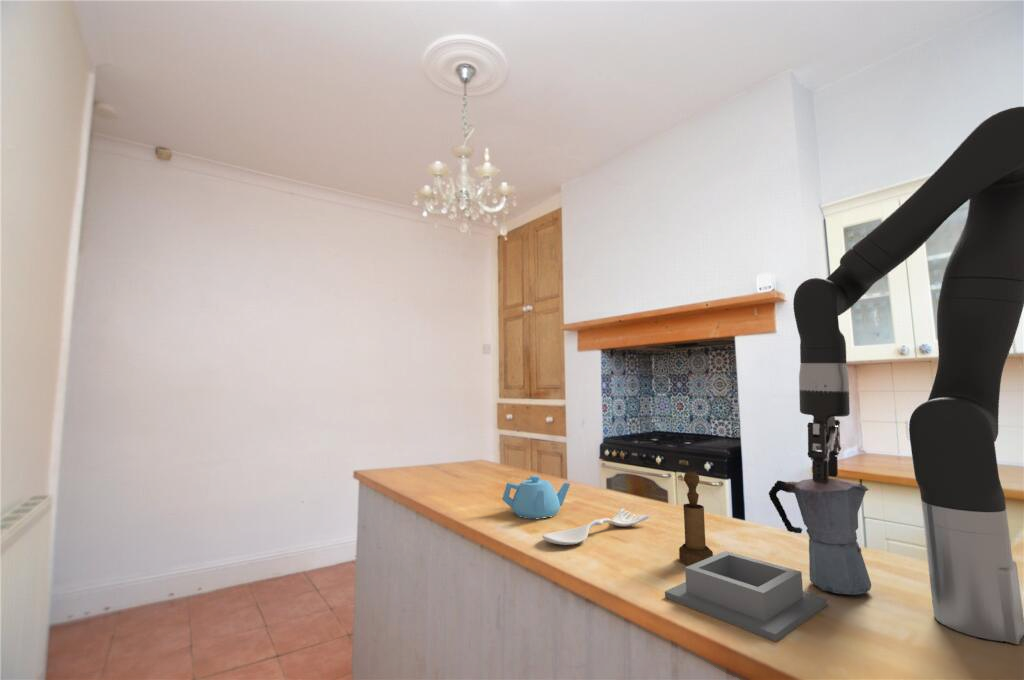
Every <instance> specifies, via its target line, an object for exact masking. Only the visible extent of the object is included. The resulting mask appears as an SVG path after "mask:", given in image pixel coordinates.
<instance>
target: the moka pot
mask: <svg viewBox="0 0 1024 680" xmlns="http://www.w3.org/2000/svg"><path fill="white" fill-rule="evenodd" d="M780 491H783V492H785V493H789V494H791V493H792V494H794V495H795V498H796V502H797V506H798V508H799V511H800V515H801V518H802V522H803V524H804V526H805V527H806V529H805V531H806V534H807V535H808V537H809V538H808V554H809V555H808V556H809V557H808V558H809V562H808V563H809V564H808V565H809V567H808V568H809V581H810V583H811V584H812V585H814V586H815V587H817V588H819V589H820V590H823V591H826V592H830V593H833V594H839V595H841V594H842V595H850V596H851V595H861V594H867V593H868V592H869V591H870V590H871V588H872V582H871V578H870V576H869V573H868V570H867V566H866V563H865V560H864V557H863V554H862V549H861V547H860V545H859V542H858V541H857V540H858V537H857V530H858V528H859V515H858V514H859V512H860V508H861V506H862V503H863V500H864V497H865V495H866V492H867V491H870V489H869V488H868V487H867V486H865V485H863V484H861V483H858V482H850V481H848V480H845V479H837V478H829V482H828V483H827V484H821V483H815V482H814V481H813V478H807V479H803V480H800V481H783V480H776V482H775V483H774V485H773V486H772V487H771V488H770V490H769V492H768V496H769V499H770V501H771V503H772V504H773V506H774V508H775V509H776V511H777V513H778V515H779V517H780V518H781V520H782V523H783V524H784V526H785V528H786V531H787V532H790V533H794V534H802V532H803V529H802V527H796V526H794V525H792V523H791V521H790V520H789V518H788V516H787V513H786V510H785V509H784V507H783V505H782V504H781V501H780V498H779V497H778V496H777V494H778V492H780Z"/></svg>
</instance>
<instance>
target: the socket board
mask: <svg viewBox="0 0 1024 680" xmlns="http://www.w3.org/2000/svg"><path fill="white" fill-rule="evenodd" d="M684 573H685V574H684V575H685V582H682V583H681V584H677V585H675V586H674V587H670V588H669V589H667V590H666V589H665V591H664V598H665V599H668V600H671V601H673V602H675V603H678V604H680V605H683V606H686V607H688V608H691V609H693V610H695V611H698V612H700V613H702V614H703V613H704V614H705V615H708V616H710V617H713V618H716V619H718V620H721V621H723V622H725V623H728V624H730V625H732V626H735V627H738V628H741V629H743V630H746V631H748V632H751V633H753V634H755V635H757V636H760V637H763V638H766V639H768V640H771V641H772V642H778V641H779V640H780V639H782V638H784V636H786V635H787V634H789V633H791V632H792V631H793V630H794V629H796V628H797V627H799V626H800V625H801V624H803V623H804V622H806V621H807V620H808V619H810V618H811V617H812V616H814V615H815V614H817V613H818V612H819V611H821V610H822V609H824V608H825V607H827V606H828V598H827V597H825V596H820V595H817V594H814V593H811V592H808V591H804V589H803V577H802V576H803V575H802V571H801V570H797V569H794V568H788V567H786V566H782V565H779V564H775V563H771V562H767V561H764V560H760V559H756V558H754V557H750V556H745V555H742V554H738V553H734V552H731V551H727V550H724V551H721V552H719V553H717V554H713V556H712V557H709V558H707V559H704V560H702V561H700V562H697V563H695V564H692V565H690V566H689V565H686V567H684Z"/></svg>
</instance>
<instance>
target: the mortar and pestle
mask: <svg viewBox="0 0 1024 680" xmlns="http://www.w3.org/2000/svg"><path fill="white" fill-rule="evenodd" d="M683 480H684V483H685V484H686V486H687V488H688V492H687V493H686V496H687V500H688V503H684V504H683V520H684V523H683V525H684V543H683V544H682V545H681V546H680V547H679V549H678V551H679V553H678V556H679V557H678V558H679V561H680V562H681V563H682V564H684V565H686V566H690V565H692V564H695V563H697V562H700V561H702V560H704V559H707V558H709V557H712V556H714V552H713V550H711V548H709V546H707V544H706V529H705V527H706V526H705V525H706V524H705V506H704V505H701V504H698V502H699V493H697V488H698V485H699V482H700V477H699V474H698V473H697V472H696V471H692V470H691V471H687V472H685V473H684V475H683Z"/></svg>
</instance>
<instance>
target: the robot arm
mask: <svg viewBox="0 0 1024 680" xmlns="http://www.w3.org/2000/svg"><path fill="white" fill-rule="evenodd" d="M967 202H968V209H967V216H966V220H965V222H964V225H963V228H962V230H961V232H960V234H959V237H958V238H957V240H956V242H955V244H954V247H953V249H952V251H951V253H950V256H949V258H948V261H947V264H946V266H945V269H944V273H943V277H942V281H941V286H940V290H939V295H938V296H939V297H938V301H937V312H936V332H937V335H936V336H937V346H938V347H937V348H938V361H937V362H938V363H937V369H936V373H935V376H934V380H933V384H932V388H931V391H930V393H929V396H928V399H927V400H926V401H925V402H923V403H921V404H919V406H917V407H915V409H914V410H913V411H912V413H911V415H910V419H909V423H908V431H909V434H908V435H909V443H910V450H911V451H910V452H911V458H912V464H913V471H914V477H915V480H916V483H917V485H918V488H919V495H920V499H921V508H922V518H923V529H924V537H925V546H926V554H927V556H926V557H927V565H928V573H929V574H928V575H929V584H930V593H931V604H932V610H933V616H934V619H936V621H937V622H939V623H941V625H944V626H946V627H947V628H949V629H952V630H954V631H957V632H959V633H962V634H965V635H968V636H973V637H976V638H980V639H985V640H990V641H998V642H1004V641H1005V643H1009V642H1010V643H1011V644H1014V645H1017V644H1019V643H1021V642H1022V640H1021V639H1023V638H1024V610H1023V602H1022V593H1021V589H1020V580H1019V572H1018V564H1017V562H1016V561H1014V559H1013V553H1012V544H1011V538H1010V537H1011V536H1010V530H1009V529H1010V528H1009V521H1008V513H1007V507H1006V505H1007V504H1006V497H1005V496H1006V495H1005V492H1004V489H1003V487H1002V486H1003V485H1002V484H1001V481H1000V474H999V467H998V460H997V453H996V452H997V451H996V446H995V445H996V443H995V442H996V441H997V439H998V436H999V414H1000V413H999V410H1000V409H999V408H1000V396H1001V395H1000V392H1001V382H1002V376H1003V371H1004V368H1005V364H1006V361H1007V359H1008V356H1009V353H1010V352H1011V348H1012V346H1013V343H1014V340H1015V337H1016V334H1017V331H1018V328H1019V324H1020V320H1021V316H1022V312H1023V310H1024V106H1016V107H1010V108H1007V109H1004V110H1001V111H999V112H996V113H994V114H992V115H991V116H989V117H988V118H986V119H984V120H983V121H982V122H981V123H979V124H978V125H977V126H976V127H975V128H974V129H973V130H972V131H971V132H970V133H969V134H968V135H967V137H966V138H965V139H964V140H963V141H962V142H961V143H960V144H959V146H957V148H956V149H954V151H953V152H952V153H951V155H949V157H947V159H946V160H945V161H944V162H942V164H941V165H940V166H939V168H938V169H936V170H935V172H934V173H933V174H932V175H931V176H930V177H928V179H927V180H926V181H925V182H924V183H922V185H920V187H919V188H917V190H915V192H914V193H912V195H910V196H909V197H908V198H907V199H906V200H905V201H904V202H903V203H902V204H900V206H899V207H898V208H896V210H894V211H893V212H892V213H891V214H890V215H889V216H887V217H886V218H885V219H884V220H883V221H882V222H881V223H879V224H878V225H876V227H874V228H872V230H871V231H870V232H868V233H867V234H866V235H865V236H864V237H862V238H861V239H860V240H859V241H857V242H856V243H855V244H854V245H853V246H851V248H849V249H848V250H847V251H846V252H845V253H844V254H842V256H841V257H840V260H839V266H838V267H837V268H836V269H835V270H834V271H833V272H832V273H831V274H830V275H829V276H828V277H826V278H822V277H814V278H809V279H807V280H804V281H802V283H800V285H799V286H798V287H796V290H795V293H794V295H793V304H792V305H793V312H794V320H795V324H796V329H797V332H798V335H799V341H800V342H799V343H800V344H799V353H800V354H799V356H800V359H799V361H800V367H799V372H798V381H799V382H798V385H799V387H798V388H799V389H798V390H799V395H798V396H799V413H801V414H803V415H809V416H813V420H812V422H808V423H807V456H808V458H809V459H810V460H811V462H812V463H811V465H812V468H811V469H812V479H813V481H814V482H815V483H821V484H827V483H828V482H829V477H833V478H837V476H838V475H839V467H838V466H839V465H838V464H839V463H838V459H839V458H838V456H839V454H840V452H841V450H842V446H841V429H840V428H841V426H840V425H841V421H840V419H837V418H836V417H839V418H840V417H841V418H842V417H843V418H844V417H848V416H849V415H850V412H851V411H850V382H849V381H850V380H849V371H848V366H847V365H848V364H847V345H846V344H847V342H846V338H845V336H844V334H843V332H841V330H840V326H839V325H840V323H839V322H840V321H839V316H841V315H842V314H844V313H845V312H847V311H848V310H849V309H851V308H852V307H853V306H854V305H856V303H857V302H858V301H859V300H860V299H861V298H863V296H864V295H865V294H866V293H867V292H868V291H869V290H870V288H872V286H873V285H874V284H876V283H877V282H878V281H879V280H881V279H882V278H884V277H885V276H886V275H888V274H889V273H891V272H892V271H893V270H894V269H896V268H897V267H898V266H899V265H901V264H902V263H903V262H905V261H906V260H907V259H909V258H910V256H912V255H913V254H914V253H915V252H916V251H917V250H918V249H920V248H921V247H922V246H923V245H924V244H925V243H926V242H927V241H928V240H929V239H930V238H931V237H932V235H933V234H934V233H935V232H936V231H937V230H938V229H939V228H940V227H941V226H942V225H943V224H944V223H945V221H947V219H948V218H949V217H951V216H952V215H953V214H954V213H955V212H956V211H958V210H959V208H960V207H962V206H963V205H964V204H965V203H967ZM1020 641H1021V642H1020ZM1019 645H1020V644H1019Z"/></svg>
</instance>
